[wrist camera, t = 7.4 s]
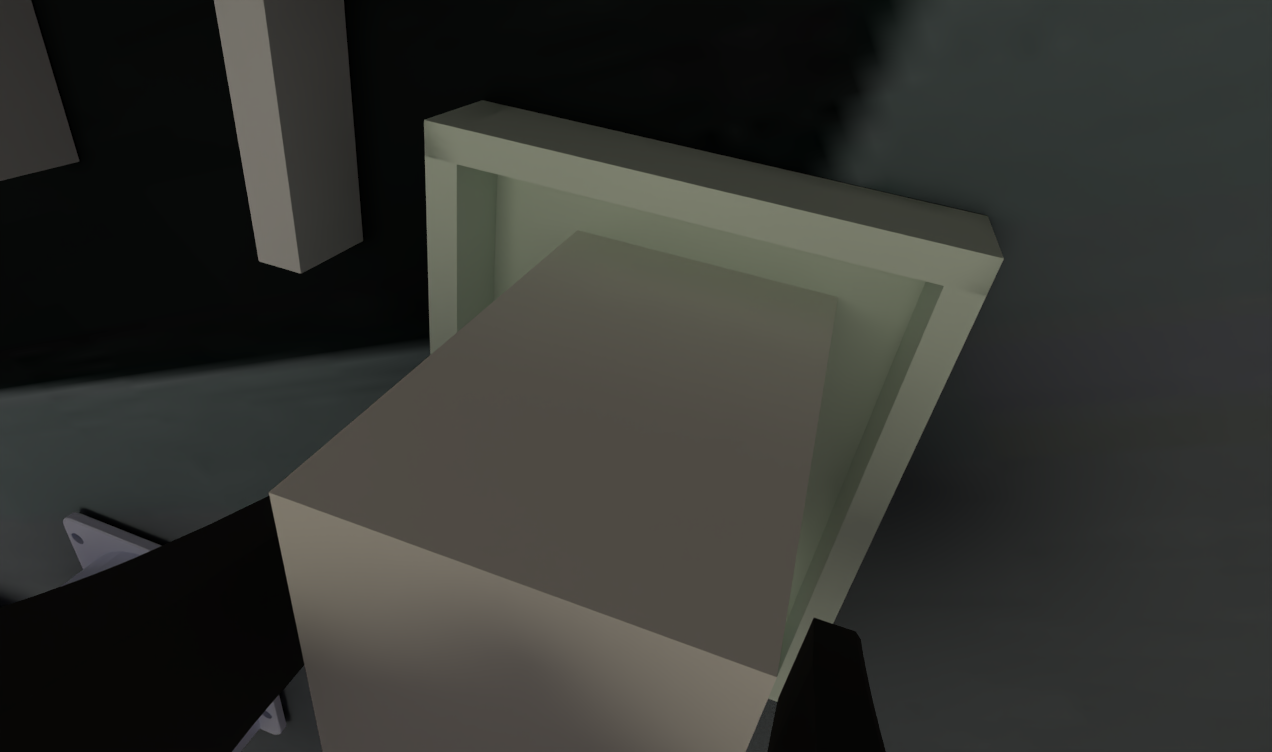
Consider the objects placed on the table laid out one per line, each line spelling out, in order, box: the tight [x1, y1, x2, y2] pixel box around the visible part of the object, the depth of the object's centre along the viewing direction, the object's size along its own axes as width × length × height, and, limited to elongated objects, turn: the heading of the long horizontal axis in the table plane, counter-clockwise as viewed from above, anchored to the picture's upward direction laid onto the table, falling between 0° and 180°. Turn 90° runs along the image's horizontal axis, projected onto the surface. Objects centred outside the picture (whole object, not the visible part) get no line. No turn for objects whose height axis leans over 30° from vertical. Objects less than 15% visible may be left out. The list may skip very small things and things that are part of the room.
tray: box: [424, 100, 1004, 702], centre depth 14 cm, size 11×9×2 cm
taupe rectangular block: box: [269, 230, 838, 752], centre depth 12 cm, size 8×5×8 cm, turn 172°
